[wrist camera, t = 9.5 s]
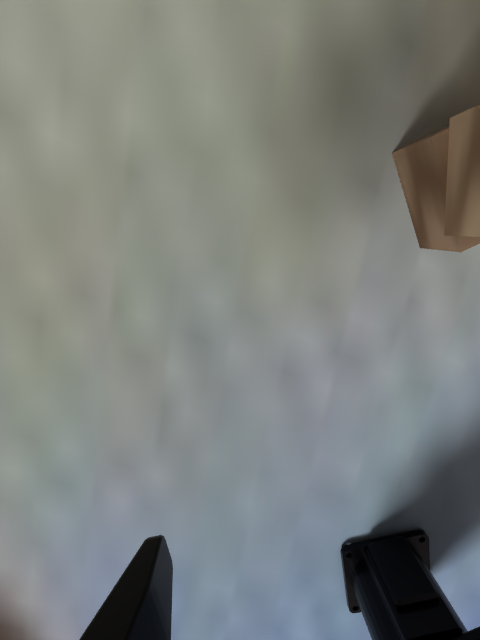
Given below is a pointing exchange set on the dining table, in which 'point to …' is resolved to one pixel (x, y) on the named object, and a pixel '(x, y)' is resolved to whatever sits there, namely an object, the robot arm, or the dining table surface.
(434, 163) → the tower base
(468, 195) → the tower mid
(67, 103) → the dining table surface
